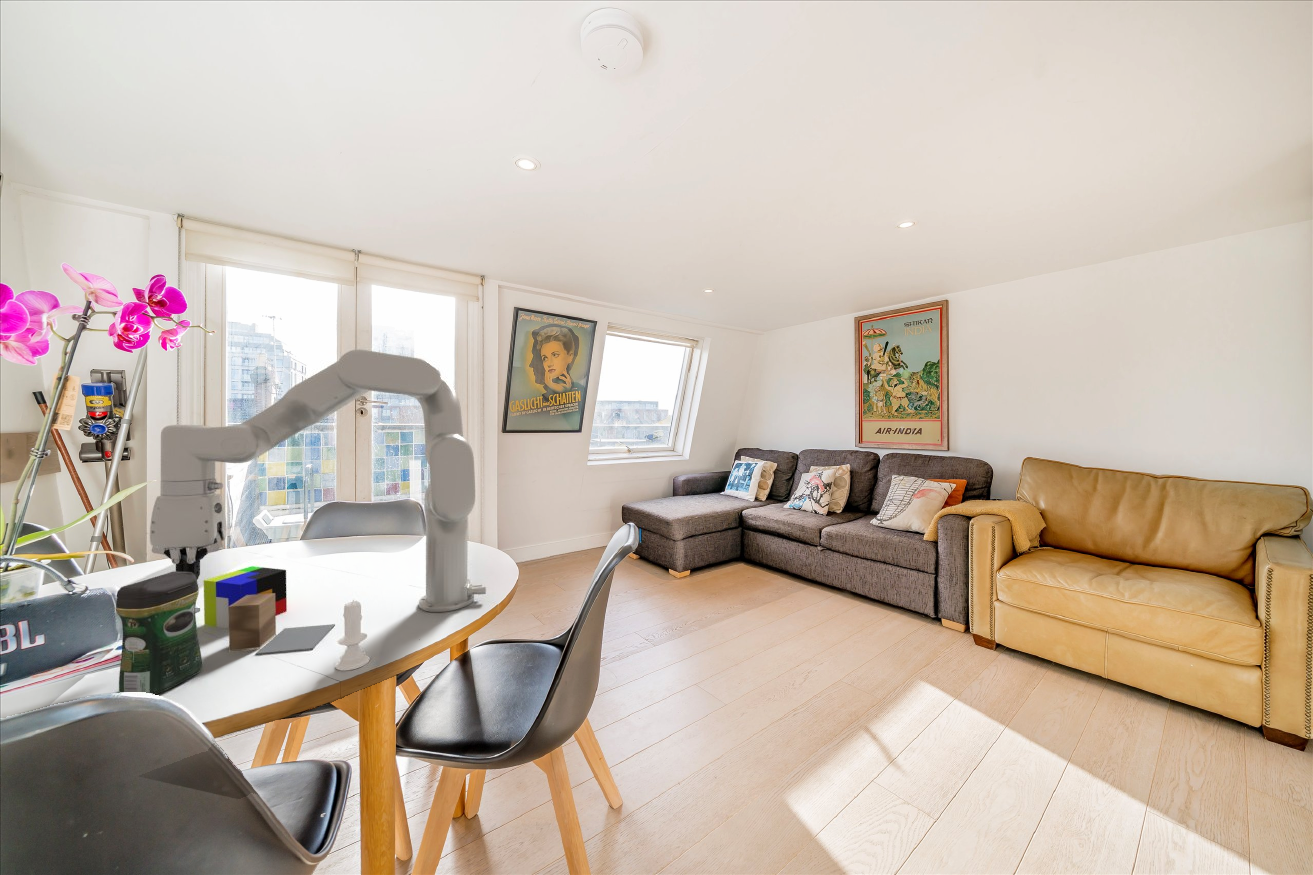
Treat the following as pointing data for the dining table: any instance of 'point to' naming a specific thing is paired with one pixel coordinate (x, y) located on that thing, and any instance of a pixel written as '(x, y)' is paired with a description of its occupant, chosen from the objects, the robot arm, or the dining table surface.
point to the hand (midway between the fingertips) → (187, 581)
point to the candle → (352, 639)
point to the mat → (296, 639)
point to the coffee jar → (158, 632)
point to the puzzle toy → (241, 592)
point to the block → (252, 622)
